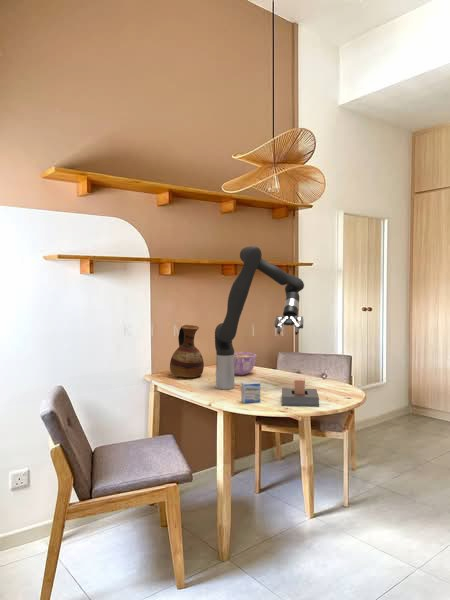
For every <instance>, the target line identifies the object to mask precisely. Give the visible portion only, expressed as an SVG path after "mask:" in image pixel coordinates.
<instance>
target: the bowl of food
mask: <svg viewBox="0 0 450 600" xmlns="http://www.w3.org/2000/svg"><path fill="white" fill-rule="evenodd" d="M256 359H257V354H256V353H254V352H247V351H234V376H244V375H245V376H246V375H247V374H249V373H250V372H252V371H253V369H254V367H255V363H256Z"/></svg>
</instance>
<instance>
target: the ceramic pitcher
mask: <svg viewBox="0 0 450 600" xmlns="http://www.w3.org/2000/svg"><path fill="white" fill-rule="evenodd" d="M199 329H200V326H197V325H194V324H193V325H192V324H185V325H180V329H179V331H178V337H177V338H178V339H177V340H178V348H177V349H176V350H175V351H174V352H173V354H172V356H171V358H170V362H169V370H170V373H171V374H172V375H174V376H176V377H179V378H189V379H191V378H196V377H199V376H201V375H202V374H203V373H204V368H205V366H204V365H205V364H204V358H203V357H204V356H203V355H202V353H201V351H200V349H198V348H197V347H196V346H195V336H196V333H197V331H198V330H199Z"/></svg>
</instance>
